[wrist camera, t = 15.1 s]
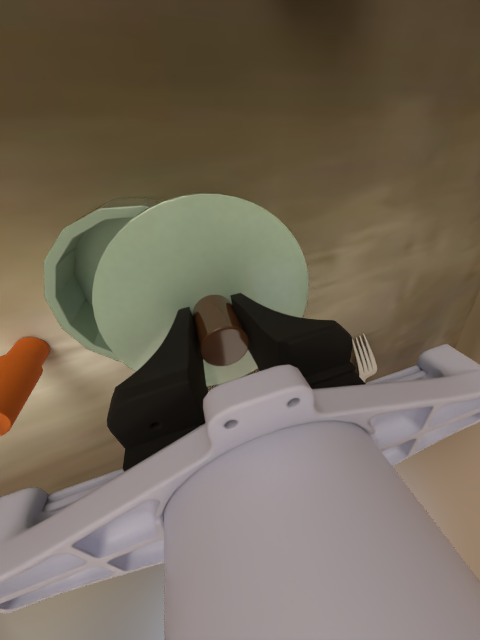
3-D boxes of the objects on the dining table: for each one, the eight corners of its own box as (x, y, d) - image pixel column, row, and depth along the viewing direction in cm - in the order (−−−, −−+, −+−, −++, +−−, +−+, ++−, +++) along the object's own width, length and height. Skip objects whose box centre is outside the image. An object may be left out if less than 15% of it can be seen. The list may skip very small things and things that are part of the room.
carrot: (54, 336, 20) (-5, 430, 13) (54, 362, 22) (0, 461, 15) (9, 331, 19) (-83, 432, 12) (12, 359, 21) (-70, 466, 13)
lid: (334, 236, 15) (390, 259, 11) (258, 381, 20) (279, 429, 16) (109, 143, 10) (78, 130, 6) (88, 369, 15) (65, 433, 11)
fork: (345, 408, 45) (355, 421, 43) (348, 340, 31) (362, 355, 29) (358, 401, 45) (368, 415, 43) (367, 331, 31) (382, 346, 29)
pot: (236, 227, 20) (252, 241, 16) (198, 339, 25) (205, 368, 21) (69, 169, 15) (41, 171, 11) (65, 322, 20) (44, 355, 17)
